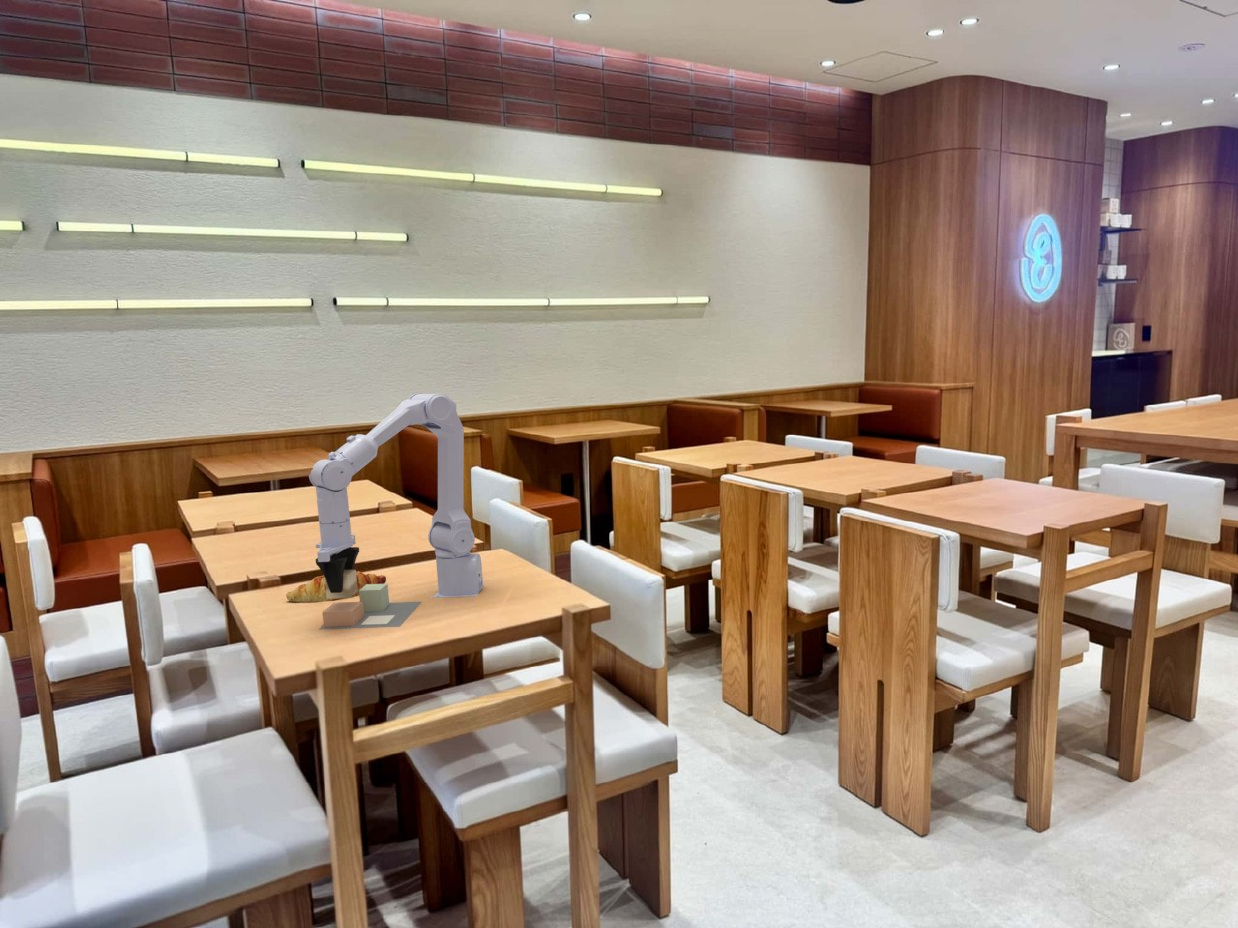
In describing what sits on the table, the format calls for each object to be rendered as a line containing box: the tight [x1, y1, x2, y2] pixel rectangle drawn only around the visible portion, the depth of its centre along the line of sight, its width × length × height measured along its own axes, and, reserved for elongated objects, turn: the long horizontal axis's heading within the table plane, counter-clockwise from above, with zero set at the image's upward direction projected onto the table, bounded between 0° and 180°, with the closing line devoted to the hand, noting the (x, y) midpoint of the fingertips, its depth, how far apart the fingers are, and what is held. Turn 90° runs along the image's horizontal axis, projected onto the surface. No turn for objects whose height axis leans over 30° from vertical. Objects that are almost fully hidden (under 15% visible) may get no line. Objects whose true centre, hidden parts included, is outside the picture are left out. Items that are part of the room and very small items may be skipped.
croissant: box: [285, 570, 387, 603], centre depth 185 cm, size 21×10×8 cm, turn 115°
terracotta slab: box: [321, 601, 365, 627], centre depth 166 cm, size 6×6×3 cm
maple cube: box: [325, 569, 358, 600], centre depth 165 cm, size 4×4×4 cm
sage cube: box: [358, 583, 390, 612], centre depth 174 cm, size 4×4×4 cm
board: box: [318, 601, 423, 630], centre depth 169 cm, size 16×16×1 cm
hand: (341, 588), depth 165 cm, fingers closed on maple cube, 4 cm apart
